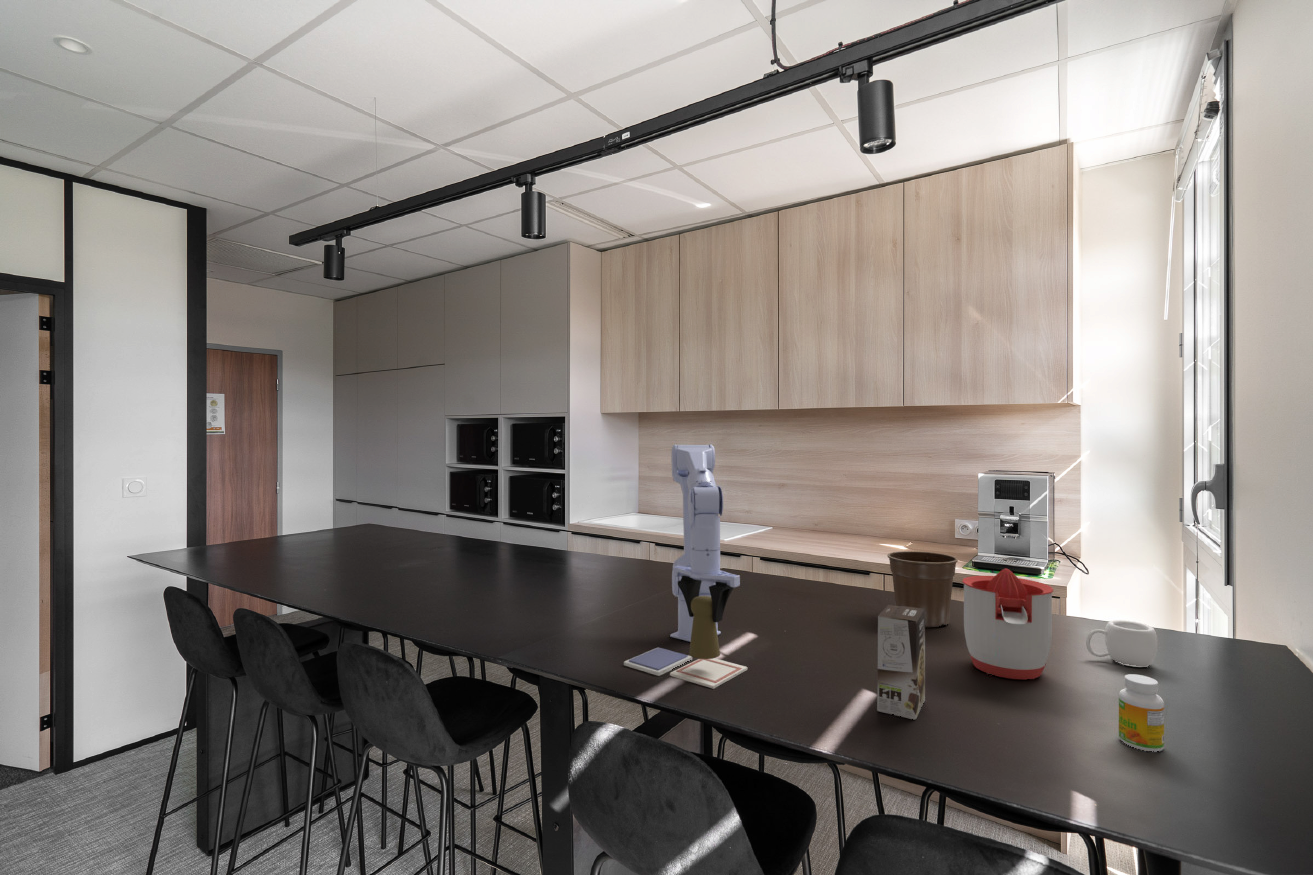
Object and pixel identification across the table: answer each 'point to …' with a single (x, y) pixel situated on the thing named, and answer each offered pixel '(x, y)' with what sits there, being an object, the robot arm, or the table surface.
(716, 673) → the marked board
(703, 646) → the cork
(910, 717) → the coffee box
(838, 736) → the table surface
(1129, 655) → the mug
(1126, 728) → the supplement bottle
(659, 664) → the ink pad
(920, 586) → the plant pot
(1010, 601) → the citrus juicer
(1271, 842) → the table surface
